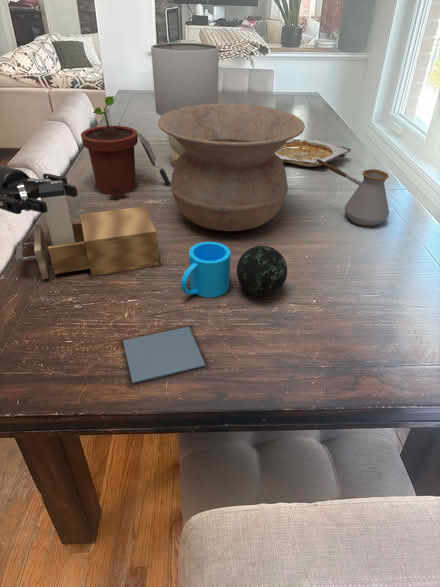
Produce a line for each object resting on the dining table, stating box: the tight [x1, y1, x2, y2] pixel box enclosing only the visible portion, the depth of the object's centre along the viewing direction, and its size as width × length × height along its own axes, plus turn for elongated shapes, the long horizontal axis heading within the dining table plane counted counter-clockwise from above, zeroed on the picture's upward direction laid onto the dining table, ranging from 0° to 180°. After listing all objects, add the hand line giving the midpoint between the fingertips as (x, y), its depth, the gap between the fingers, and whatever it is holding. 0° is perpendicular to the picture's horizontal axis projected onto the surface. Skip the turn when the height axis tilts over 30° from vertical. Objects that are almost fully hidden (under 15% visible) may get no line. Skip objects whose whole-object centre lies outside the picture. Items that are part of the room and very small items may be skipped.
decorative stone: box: [236, 245, 288, 297], centre depth 82 cm, size 10×10×10 cm
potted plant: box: [80, 95, 171, 201], centre depth 118 cm, size 18×22×25 cm
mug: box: [180, 241, 231, 298], centre depth 83 cm, size 12×8×8 cm
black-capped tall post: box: [39, 182, 76, 246], centre depth 86 cm, size 4×4×16 cm
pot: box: [157, 103, 306, 232], centre depth 104 cm, size 34×34×25 cm
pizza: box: [275, 138, 352, 168], centre depth 149 cm, size 32×4×23 cm
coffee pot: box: [314, 159, 390, 227], centre depth 108 cm, size 21×12×15 cm, turn 74°
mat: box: [122, 326, 206, 385], centre depth 70 cm, size 12×10×1 cm
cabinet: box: [79, 205, 160, 277], centre depth 92 cm, size 15×13×9 cm
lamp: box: [150, 41, 220, 167], centre depth 133 cm, size 20×20×35 cm
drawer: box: [15, 221, 90, 280], centre depth 89 cm, size 18×11×7 cm, turn 109°
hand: (61, 199), depth 82 cm, fingers open, 8 cm apart
